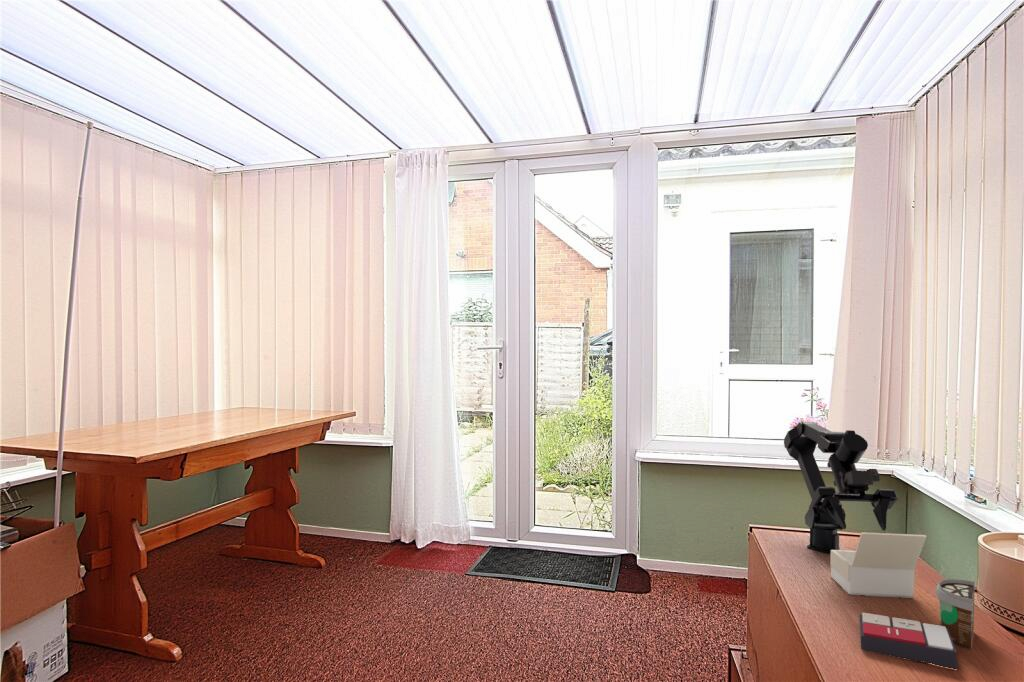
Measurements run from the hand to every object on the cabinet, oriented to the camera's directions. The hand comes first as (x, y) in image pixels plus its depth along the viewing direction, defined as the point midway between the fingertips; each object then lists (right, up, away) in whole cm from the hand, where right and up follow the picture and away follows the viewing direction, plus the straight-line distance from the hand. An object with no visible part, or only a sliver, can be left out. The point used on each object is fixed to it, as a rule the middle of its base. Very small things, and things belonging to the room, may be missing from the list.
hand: (864, 529), depth 149 cm
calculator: (-10, -14, -31) cm, 36 cm away
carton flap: (-1, -1, -11) cm, 11 cm away
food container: (+2, -13, -27) cm, 30 cm away
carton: (-1, -13, -3) cm, 13 cm away
